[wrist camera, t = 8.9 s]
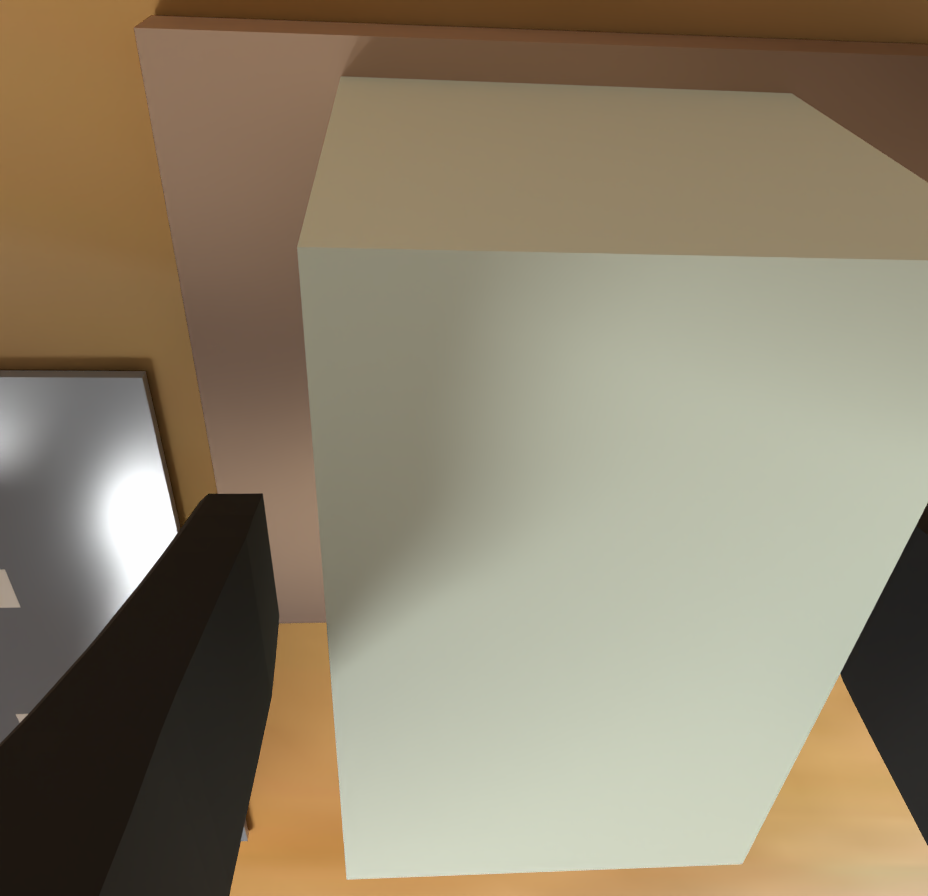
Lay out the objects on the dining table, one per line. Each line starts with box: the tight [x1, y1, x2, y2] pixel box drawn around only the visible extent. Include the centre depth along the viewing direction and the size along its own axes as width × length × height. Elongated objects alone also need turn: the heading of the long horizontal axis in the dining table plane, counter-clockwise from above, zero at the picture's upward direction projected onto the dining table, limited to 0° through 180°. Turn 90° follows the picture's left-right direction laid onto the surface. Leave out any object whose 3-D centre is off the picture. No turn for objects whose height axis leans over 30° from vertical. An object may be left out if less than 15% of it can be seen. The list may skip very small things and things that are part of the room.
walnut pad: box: [134, 15, 928, 623], centre depth 13 cm, size 10×10×1 cm
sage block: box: [297, 76, 928, 879], centre depth 10 cm, size 9×6×5 cm, turn 177°
